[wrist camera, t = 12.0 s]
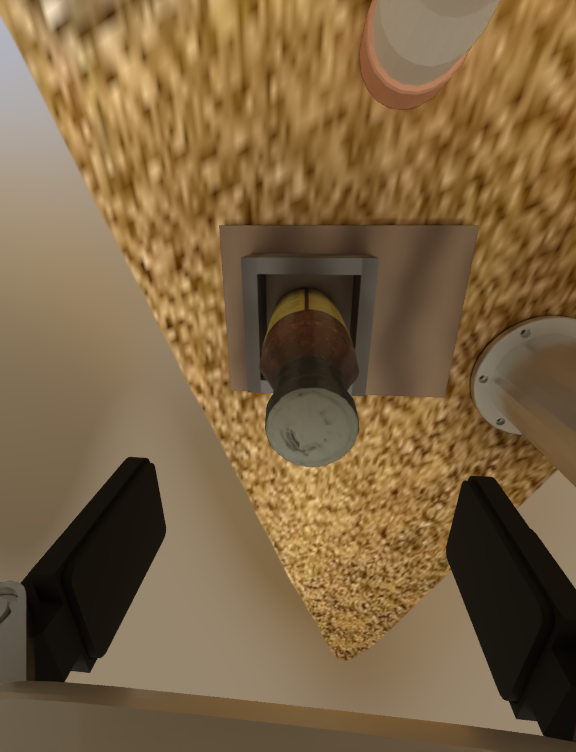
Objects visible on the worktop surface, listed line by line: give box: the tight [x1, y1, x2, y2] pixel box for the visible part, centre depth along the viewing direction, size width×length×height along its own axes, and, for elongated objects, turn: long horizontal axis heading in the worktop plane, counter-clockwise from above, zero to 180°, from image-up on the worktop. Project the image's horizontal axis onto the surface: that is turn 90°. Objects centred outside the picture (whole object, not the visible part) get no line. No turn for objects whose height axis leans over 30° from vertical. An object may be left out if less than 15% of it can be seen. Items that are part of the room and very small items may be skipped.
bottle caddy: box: [219, 225, 479, 397], centre depth 31 cm, size 22×16×6 cm
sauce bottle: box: [259, 287, 359, 467], centre depth 24 cm, size 6×6×20 cm
